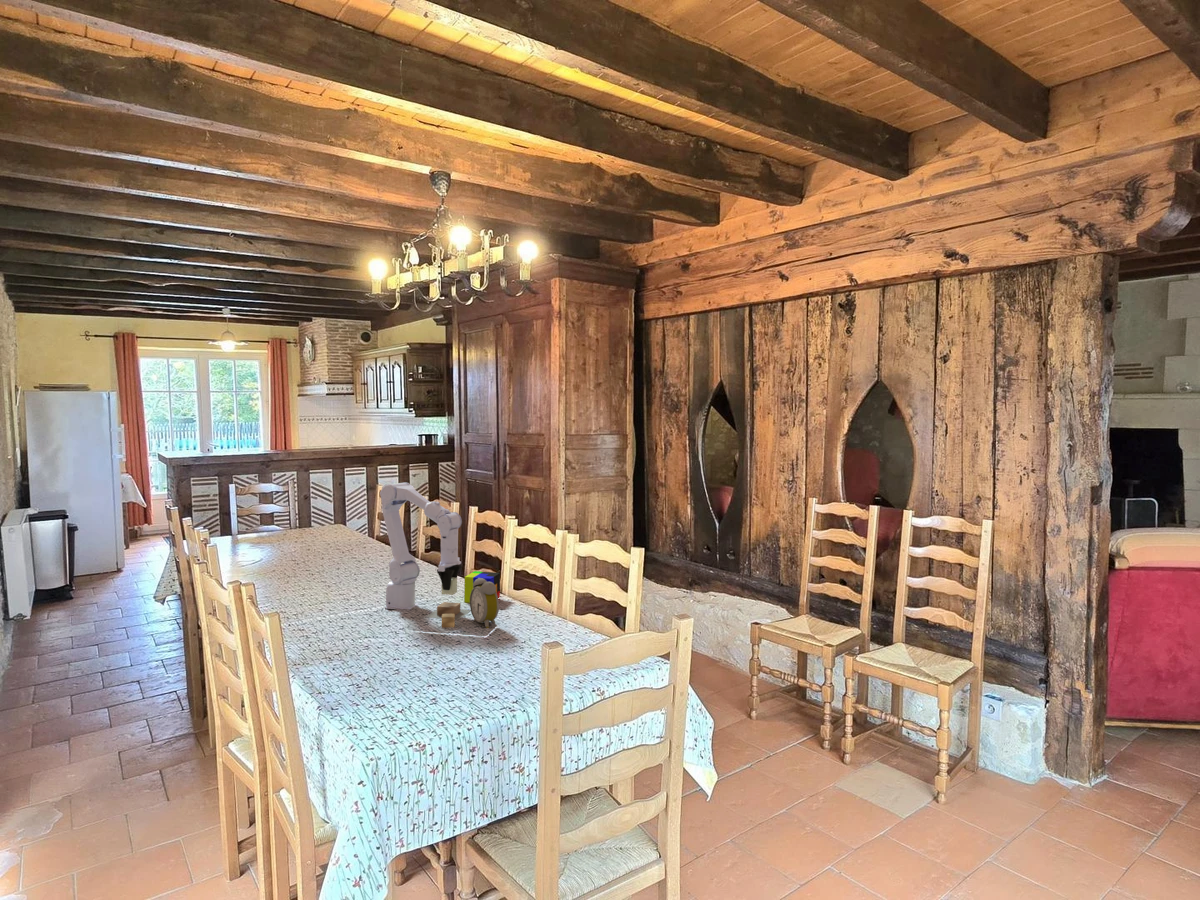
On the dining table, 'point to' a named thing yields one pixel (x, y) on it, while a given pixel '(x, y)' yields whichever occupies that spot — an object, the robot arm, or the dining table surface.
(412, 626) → the dining table surface
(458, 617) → the build board
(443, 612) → the base block
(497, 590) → the puzzle toy
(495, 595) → the alarm clock
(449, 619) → the ochre block
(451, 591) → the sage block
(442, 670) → the dining table surface
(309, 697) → the dining table surface
